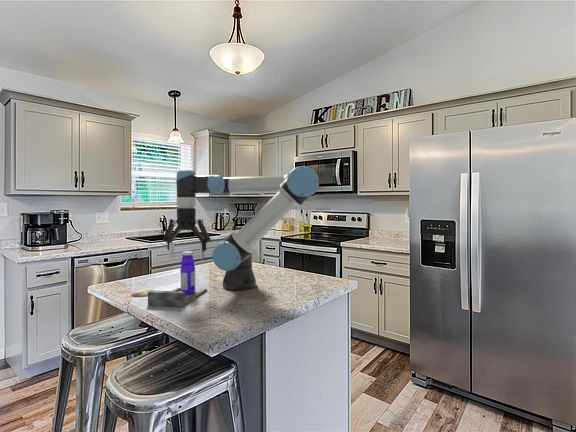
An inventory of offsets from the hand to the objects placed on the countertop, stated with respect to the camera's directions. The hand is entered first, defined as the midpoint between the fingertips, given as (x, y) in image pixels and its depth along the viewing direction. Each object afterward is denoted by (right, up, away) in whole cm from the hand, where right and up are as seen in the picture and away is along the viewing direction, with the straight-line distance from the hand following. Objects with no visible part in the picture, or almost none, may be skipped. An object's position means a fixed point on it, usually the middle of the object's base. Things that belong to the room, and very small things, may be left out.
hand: (186, 258), depth 139 cm
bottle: (0, -15, +1) cm, 15 cm away
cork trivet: (-18, -15, 0) cm, 23 cm away
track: (-1, -15, -7) cm, 16 cm away
